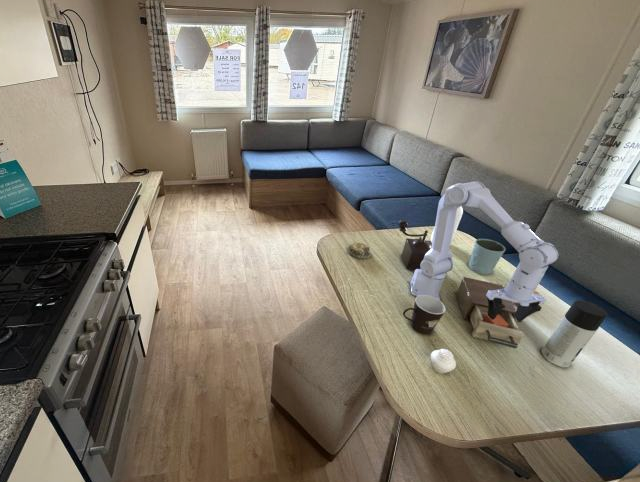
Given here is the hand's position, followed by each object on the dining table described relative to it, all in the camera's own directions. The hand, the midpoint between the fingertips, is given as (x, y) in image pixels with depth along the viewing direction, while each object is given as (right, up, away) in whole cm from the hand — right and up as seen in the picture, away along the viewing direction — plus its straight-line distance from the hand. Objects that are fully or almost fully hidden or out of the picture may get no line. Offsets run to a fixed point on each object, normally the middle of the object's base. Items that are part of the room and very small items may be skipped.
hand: (503, 318), depth 93 cm
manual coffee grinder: (-8, +12, +41) cm, 44 cm away
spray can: (+14, -12, -1) cm, 19 cm away
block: (+1, -5, +6) cm, 8 cm away
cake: (-28, +15, +47) cm, 56 cm away
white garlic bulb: (-22, -13, -5) cm, 26 cm away
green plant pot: (+21, +9, +39) cm, 45 cm away
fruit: (+22, -1, +19) cm, 29 cm away
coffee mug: (-22, -5, +9) cm, 24 cm away
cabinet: (+5, -2, +16) cm, 17 cm away
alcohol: (+15, +19, +57) cm, 61 cm away
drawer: (+1, -6, +7) cm, 9 cm away
